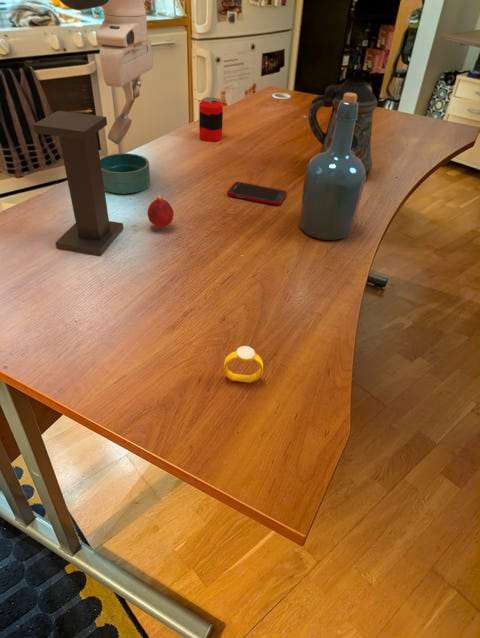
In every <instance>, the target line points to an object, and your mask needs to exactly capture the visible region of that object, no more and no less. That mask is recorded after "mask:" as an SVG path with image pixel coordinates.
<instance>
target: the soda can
mask: <svg viewBox="0 0 480 638" xmlns="http://www.w3.org/2000/svg"><path fill="white" fill-rule="evenodd" d="M198 105H199V106H198V113H199V117H198V121H199V122H198V123H199V125H198V127H199V128H198V129H199V130H198V131H199V134H198V135H199V139H200V140H201V141H203V142H207V141H211V142H210V143H215V142H214V141H216V142H219V141H221V140H222V139H223V123H224V121H223V119H224V115H223V114H224V103H223V102H222V101H221V99H220V98H218V97H211V96H210V97H209V96H208V97H207V96H206V97H203V98H202V99H201V101H199V104H198Z"/></svg>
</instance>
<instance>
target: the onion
mask: <svg viewBox="0 0 480 638" xmlns="http://www.w3.org/2000/svg"><path fill="white" fill-rule="evenodd" d="M146 214H147V218H148V220H149V222H150V223H151V224H152V225H153V226H155V227H157V228H158V229H163V228H166V227H168V226H170V224H172V222H173V220H174V215H175V212H174V209H173V207H172V205H171V203H169V202H168V201H167V200H166V199H164V198H163V197H161V195H159V194H157V196H156V199H154V200H153V201H151V203H150V204H149V206H148V208H147V213H146Z"/></svg>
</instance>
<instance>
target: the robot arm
mask: <svg viewBox="0 0 480 638" xmlns="http://www.w3.org/2000/svg"><path fill="white" fill-rule="evenodd" d="M59 2H61V3H62V5H64V6H65V7H67V8H69V9H71V10H75V11H80V12H84V11H89V10H91V9H95V8H102V10H103V19H104V20H102V23H101V25H100V27H99V28H98V30H97V31H96V32H95V38H96V43H97V44H98V45H100V47H99V59H100V66H101V67H100V68H101V73H102V78H103V81H104V83H105V85H106V86H108V87H113V88H122V90H123V92H124V97H125V101H126V100H127V101H133V100H134V99H135V100H136V99H137V98H138V97H140V96H141V90H140V89H141V88H140V89H139V91H138V94H137V96H136V98H135V92H133V89H132V86H133V84H134V82H135V81H136V80H139V81H140V82H141V83H142V75H144V74H146V73H147V72H149V71H150V70H152V69H153V66H154V57H153V49H152V40H151V37H150V35H148V34H149V33H148V20H147V11H146V7H145V1H144V0H59ZM135 100H134V101H135Z"/></svg>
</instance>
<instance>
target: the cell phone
mask: <svg viewBox="0 0 480 638" xmlns="http://www.w3.org/2000/svg"><path fill="white" fill-rule="evenodd" d="M287 194H288V193H287V191H286V190H284V189H278V188H274V187H273V188H272V187H268V186H263V185H257V184H252V183H247V182H241V181H235V182H234V183H233V184H232V185H231V186H230V187H229V189H228V190H227V192H226V195H227V196H229V197H234V198H240V199H245V200H248V201H252V202H259V203H262V204H263V203H264V204H268V205H273V206H281V205H282V204H283V202H284V200H285V199H286V198H287Z"/></svg>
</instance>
